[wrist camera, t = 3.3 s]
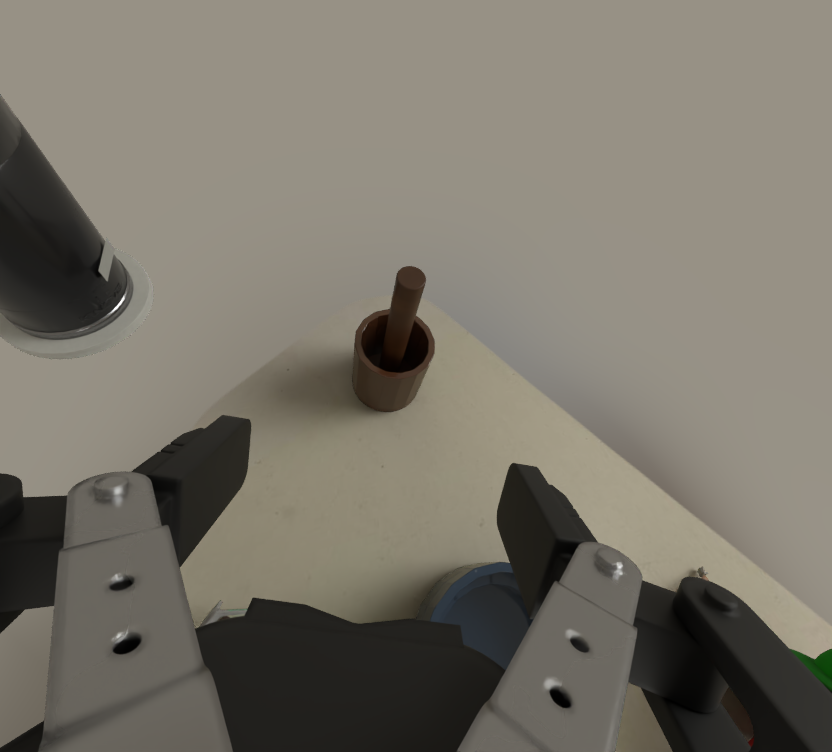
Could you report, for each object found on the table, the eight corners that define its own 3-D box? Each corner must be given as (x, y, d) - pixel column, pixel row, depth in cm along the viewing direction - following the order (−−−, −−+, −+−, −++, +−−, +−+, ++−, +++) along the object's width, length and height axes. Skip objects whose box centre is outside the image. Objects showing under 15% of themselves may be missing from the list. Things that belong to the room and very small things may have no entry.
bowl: (378, 710, 26) (387, 739, 21) (444, 537, 31) (461, 532, 27) (539, 795, 25) (581, 842, 21) (577, 604, 31) (616, 610, 26)
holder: (339, 393, 35) (340, 355, 29) (371, 341, 38) (377, 297, 32) (401, 423, 35) (415, 391, 29) (428, 369, 38) (446, 330, 32)
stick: (373, 381, 35) (391, 280, 23) (382, 366, 36) (404, 261, 24) (391, 390, 35) (419, 293, 23) (399, 374, 36) (430, 273, 24)
